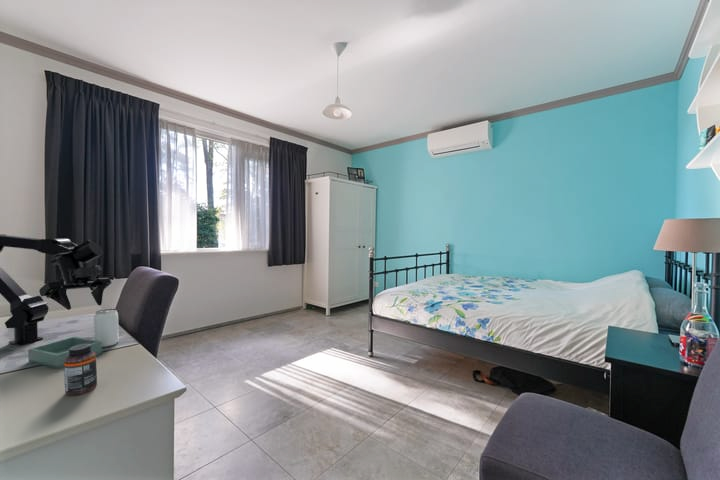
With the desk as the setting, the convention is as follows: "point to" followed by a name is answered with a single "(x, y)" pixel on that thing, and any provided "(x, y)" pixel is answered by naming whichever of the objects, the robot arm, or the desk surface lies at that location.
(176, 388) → the desk surface
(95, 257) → the robot arm
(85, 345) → the supplement bottle
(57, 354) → the tray
